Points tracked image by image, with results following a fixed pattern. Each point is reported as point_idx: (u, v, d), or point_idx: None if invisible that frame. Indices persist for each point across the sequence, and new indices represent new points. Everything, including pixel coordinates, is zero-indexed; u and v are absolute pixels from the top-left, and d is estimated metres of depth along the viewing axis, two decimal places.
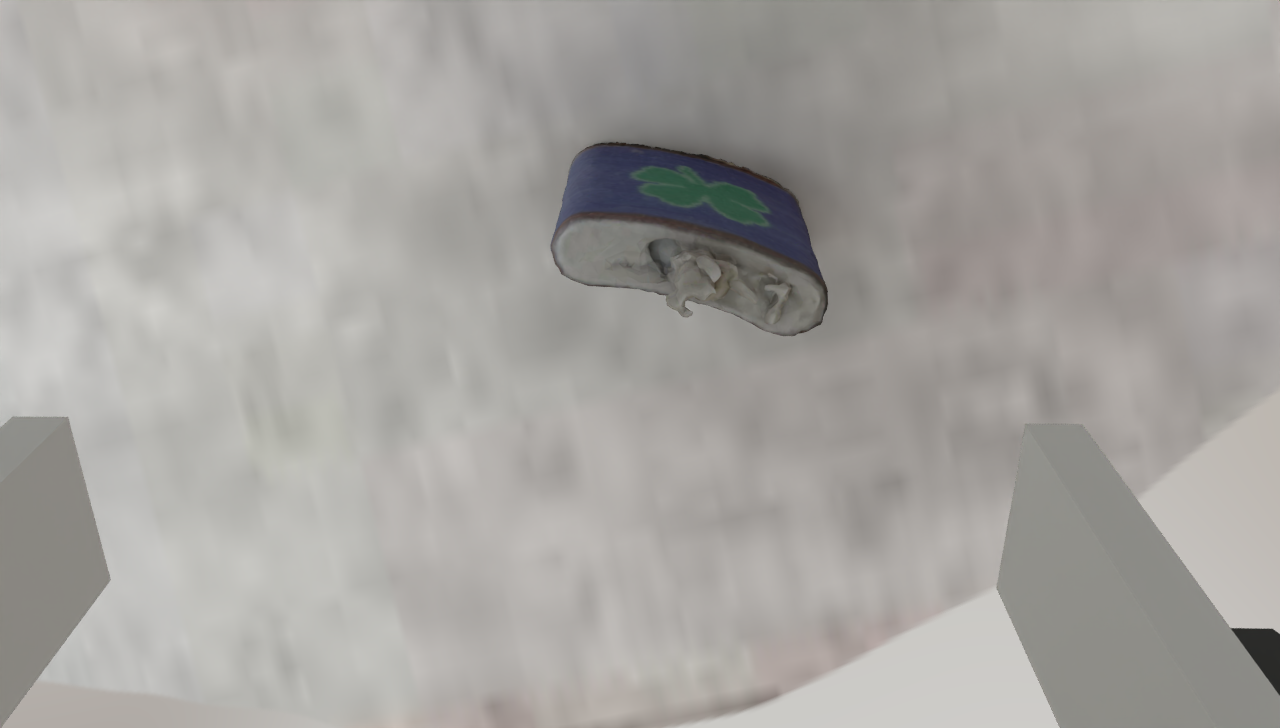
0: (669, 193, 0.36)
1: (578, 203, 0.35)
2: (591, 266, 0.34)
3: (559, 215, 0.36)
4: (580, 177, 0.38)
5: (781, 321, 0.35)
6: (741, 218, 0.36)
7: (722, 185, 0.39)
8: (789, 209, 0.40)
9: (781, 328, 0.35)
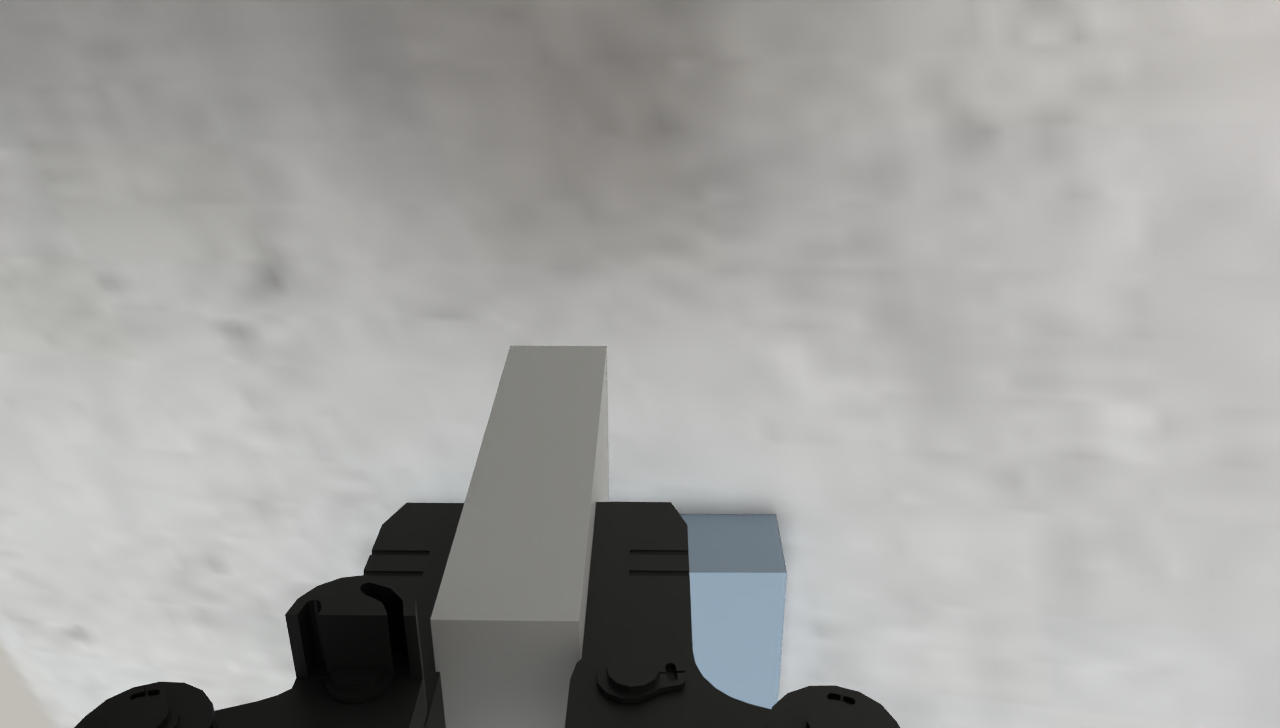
0: None
1: None
2: None
3: None
4: None
5: None
6: None
7: None
8: None
9: None
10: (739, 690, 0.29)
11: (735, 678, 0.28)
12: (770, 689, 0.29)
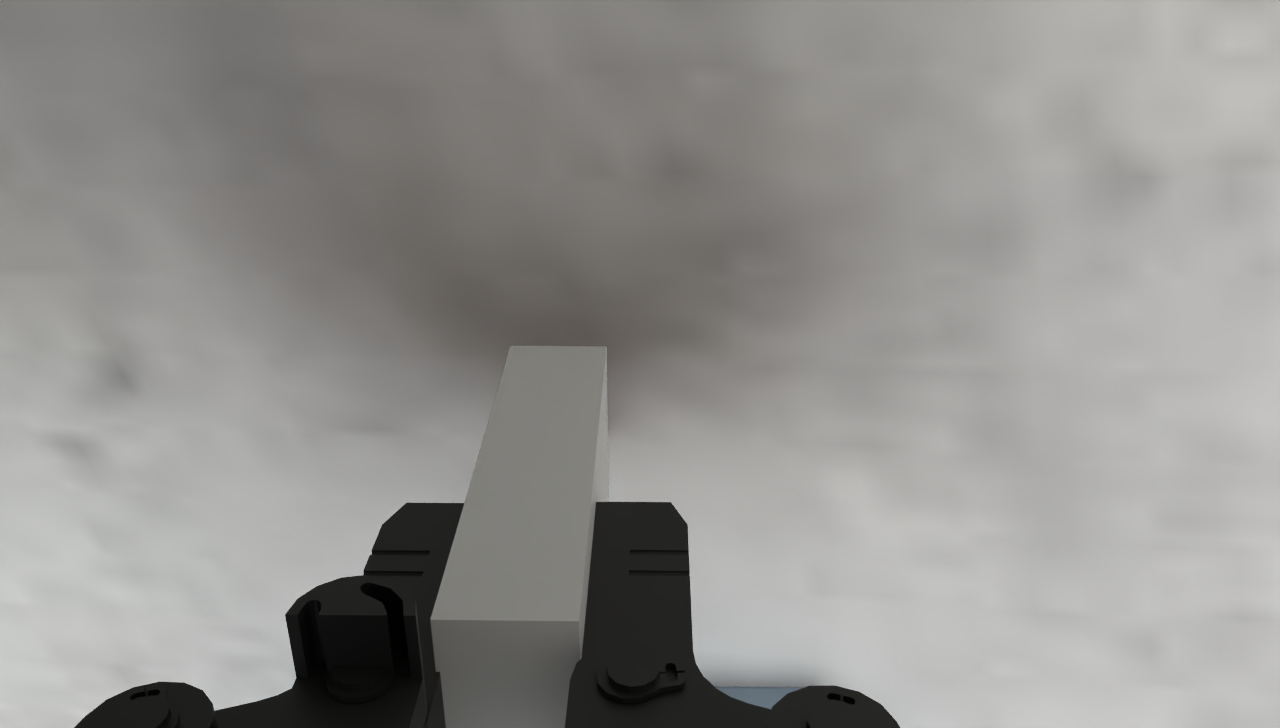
0: None
1: None
2: None
3: None
4: None
5: None
6: None
7: None
8: None
9: None
10: None
11: None
12: None
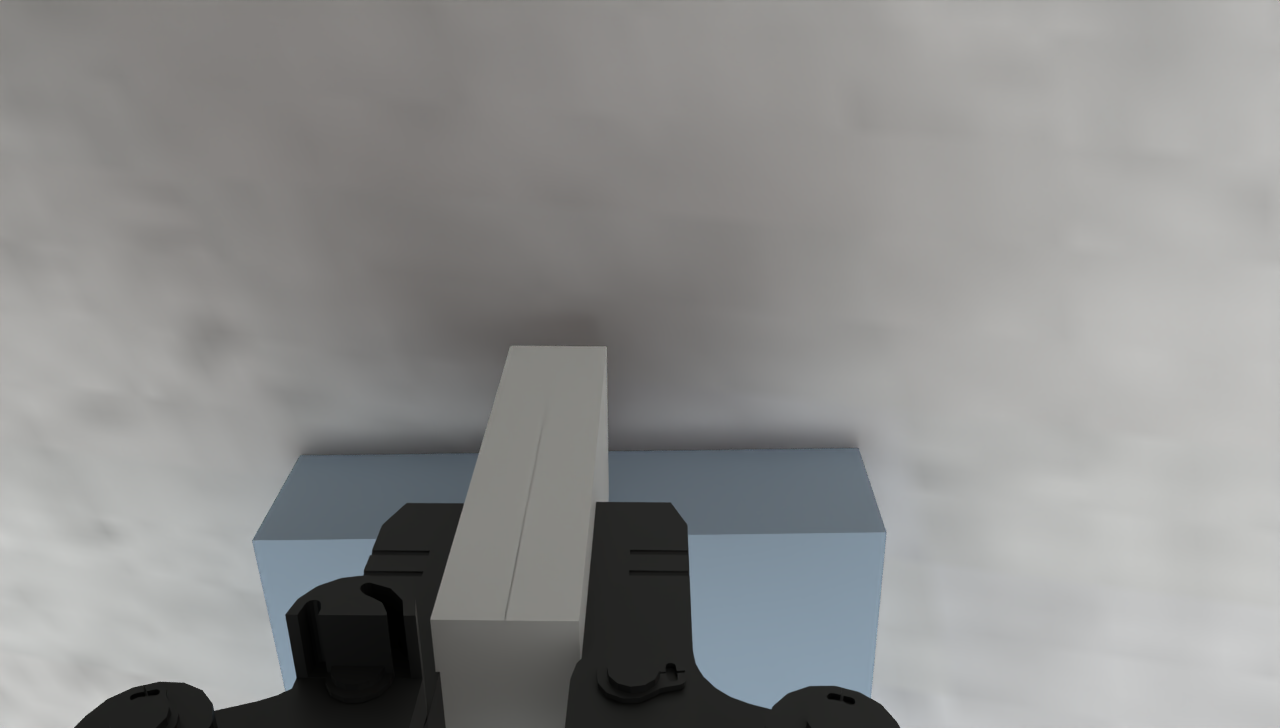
0: None
1: None
2: None
3: None
4: None
5: None
6: None
7: None
8: None
9: None
10: None
11: None
12: None
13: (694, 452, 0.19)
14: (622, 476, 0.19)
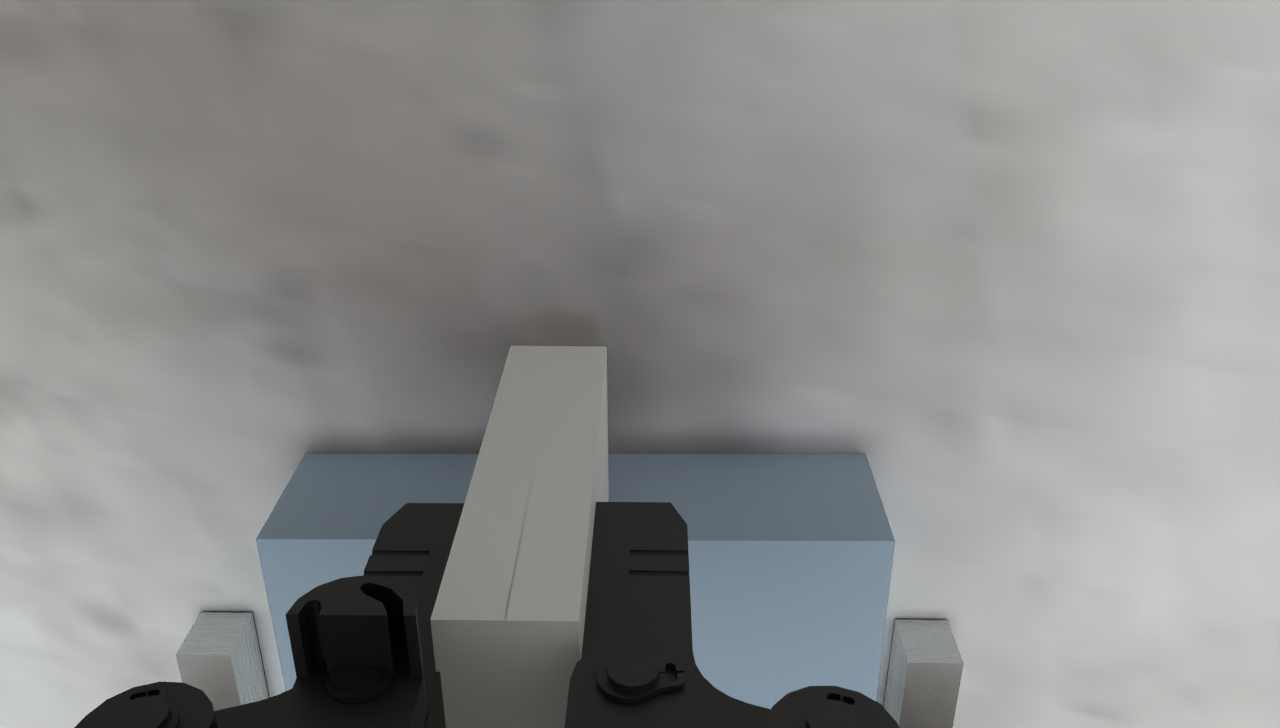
0: None
1: None
2: None
3: None
4: None
5: None
6: None
7: None
8: None
9: None
10: None
11: None
12: None
13: (701, 457, 0.19)
14: (629, 480, 0.18)
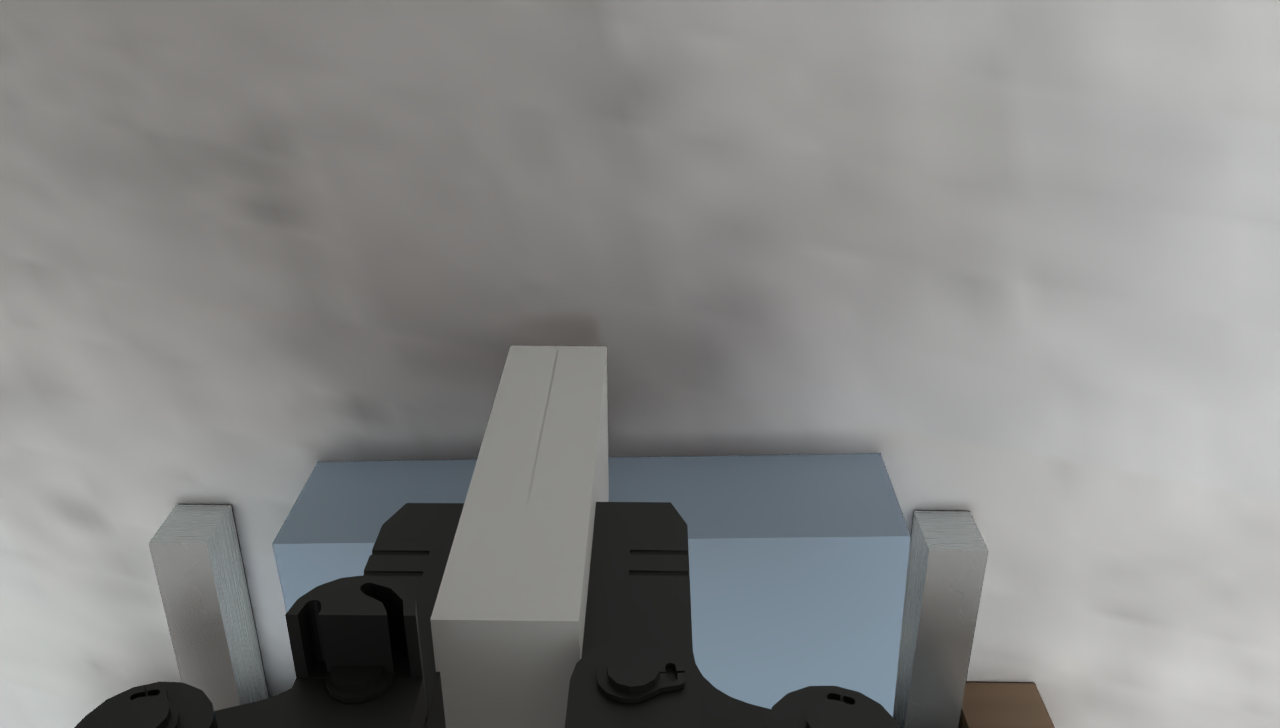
0: None
1: None
2: None
3: None
4: None
5: None
6: None
7: None
8: None
9: None
10: None
11: None
12: None
13: (715, 456, 0.19)
14: (643, 480, 0.18)
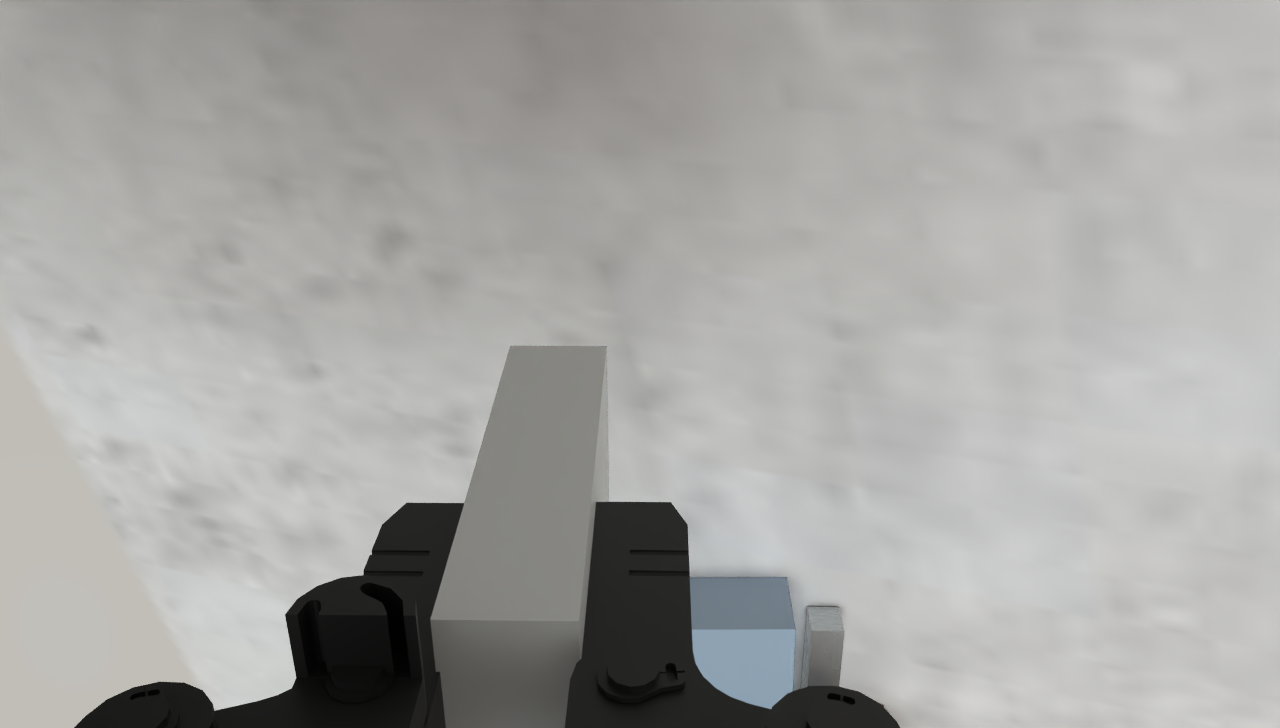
0: None
1: None
2: None
3: None
4: None
5: None
6: None
7: None
8: None
9: None
10: None
11: None
12: None
13: (694, 579, 0.34)
14: None
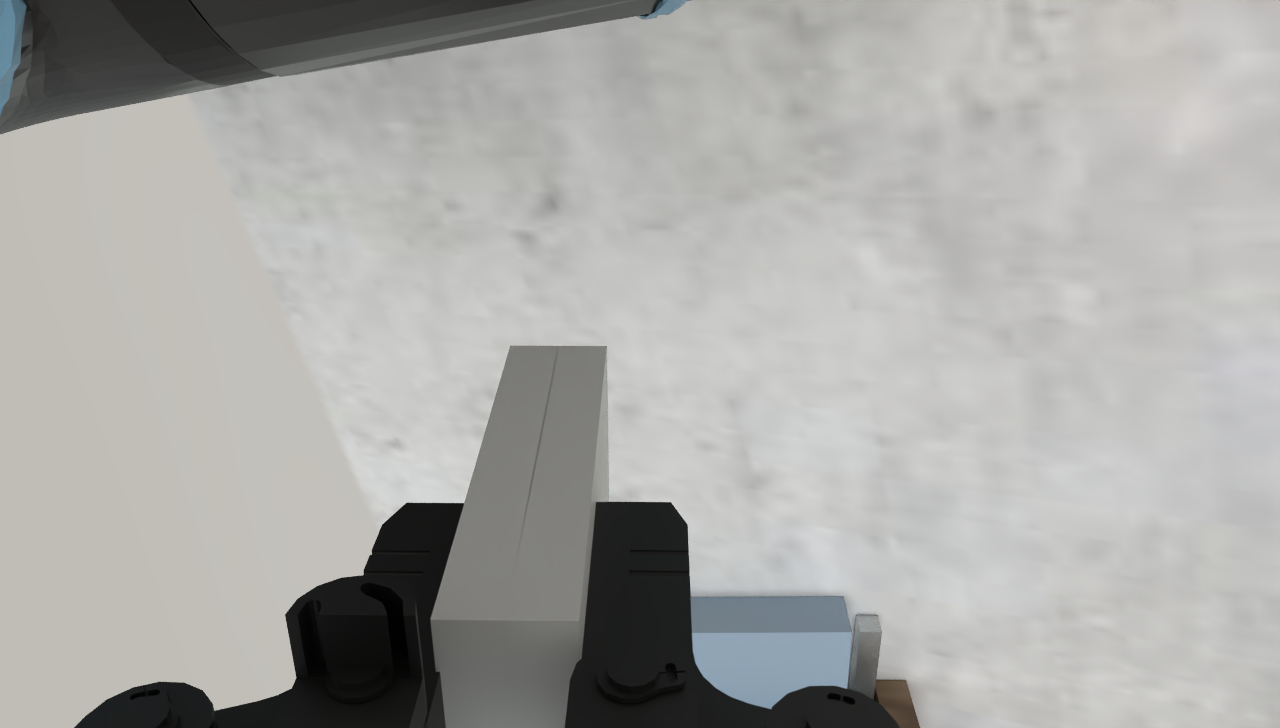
0: None
1: None
2: None
3: None
4: None
5: None
6: None
7: None
8: None
9: None
10: None
11: None
12: None
13: (781, 597, 0.51)
14: (756, 608, 0.51)
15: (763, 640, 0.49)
